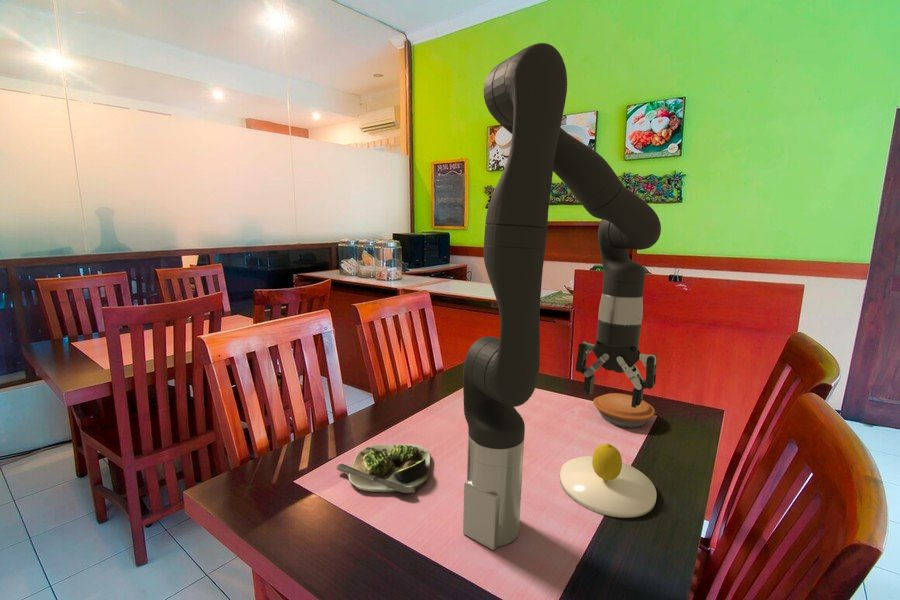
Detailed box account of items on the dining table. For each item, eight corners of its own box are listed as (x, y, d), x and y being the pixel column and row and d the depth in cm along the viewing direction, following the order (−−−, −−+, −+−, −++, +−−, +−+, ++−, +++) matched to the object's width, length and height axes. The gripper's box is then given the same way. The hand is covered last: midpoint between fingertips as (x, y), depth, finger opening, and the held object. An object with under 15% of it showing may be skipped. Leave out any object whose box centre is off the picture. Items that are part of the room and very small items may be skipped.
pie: (665, 422, 112) (667, 404, 111) (632, 437, 103) (634, 419, 102) (614, 401, 124) (616, 385, 123) (581, 414, 115) (582, 397, 115)
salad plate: (325, 499, 78) (324, 477, 78) (348, 449, 96) (348, 430, 95) (427, 502, 78) (427, 479, 77) (432, 450, 96) (432, 432, 95)
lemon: (622, 490, 80) (626, 453, 79) (592, 486, 81) (595, 449, 80) (617, 474, 85) (620, 438, 84) (589, 470, 86) (592, 435, 85)
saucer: (643, 532, 71) (644, 526, 71) (545, 490, 82) (545, 485, 81) (664, 482, 85) (665, 476, 85) (578, 452, 96) (579, 447, 95)
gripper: (575, 315, 79) (568, 396, 82) (656, 328, 70) (646, 417, 73) (588, 310, 85) (582, 385, 87) (665, 321, 76) (655, 404, 79)
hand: (611, 400), depth 80 cm, fingers open, 8 cm apart
